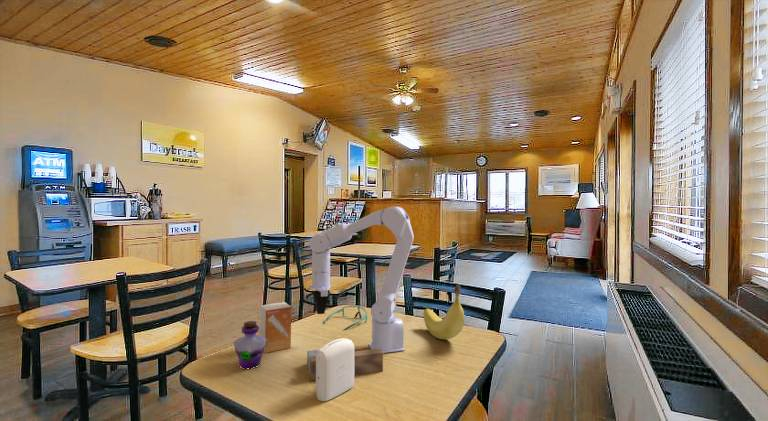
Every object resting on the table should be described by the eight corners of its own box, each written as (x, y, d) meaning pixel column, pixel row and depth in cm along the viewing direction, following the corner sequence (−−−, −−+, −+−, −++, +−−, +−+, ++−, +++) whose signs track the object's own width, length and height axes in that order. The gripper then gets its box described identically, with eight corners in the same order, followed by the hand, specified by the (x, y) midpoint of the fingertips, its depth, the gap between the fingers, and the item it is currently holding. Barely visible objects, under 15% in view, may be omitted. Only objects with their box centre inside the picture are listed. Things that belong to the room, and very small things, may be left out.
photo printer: (325, 404, 85) (325, 349, 84) (312, 397, 87) (313, 344, 87) (357, 387, 92) (357, 337, 92) (344, 381, 95) (345, 333, 95)
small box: (265, 353, 112) (265, 310, 111) (259, 346, 117) (259, 305, 117) (291, 348, 116) (291, 306, 116) (284, 341, 122) (284, 301, 121)
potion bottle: (233, 374, 98) (233, 328, 98) (233, 361, 106) (233, 319, 106) (267, 369, 102) (267, 325, 101) (265, 356, 110) (265, 315, 109)
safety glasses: (374, 321, 143) (373, 309, 142) (346, 336, 131) (345, 322, 131) (347, 314, 152) (346, 302, 151) (319, 327, 140) (318, 314, 139)
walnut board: (379, 366, 104) (379, 348, 104) (382, 371, 101) (382, 352, 101) (309, 375, 98) (309, 356, 98) (311, 380, 95) (311, 361, 95)
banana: (418, 328, 135) (419, 273, 135) (432, 326, 137) (433, 272, 137) (452, 352, 114) (453, 286, 114) (468, 349, 116) (469, 285, 116)
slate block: (328, 362, 107) (328, 348, 107) (333, 373, 100) (333, 358, 100) (307, 365, 105) (307, 350, 105) (310, 376, 98) (310, 361, 98)
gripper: (305, 267, 126) (305, 308, 126) (311, 276, 112) (310, 321, 113) (327, 266, 128) (326, 306, 128) (334, 275, 114) (334, 319, 115)
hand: (320, 313), depth 121 cm, fingers closed
